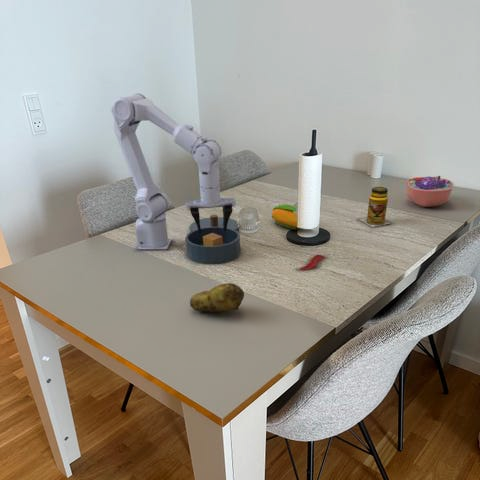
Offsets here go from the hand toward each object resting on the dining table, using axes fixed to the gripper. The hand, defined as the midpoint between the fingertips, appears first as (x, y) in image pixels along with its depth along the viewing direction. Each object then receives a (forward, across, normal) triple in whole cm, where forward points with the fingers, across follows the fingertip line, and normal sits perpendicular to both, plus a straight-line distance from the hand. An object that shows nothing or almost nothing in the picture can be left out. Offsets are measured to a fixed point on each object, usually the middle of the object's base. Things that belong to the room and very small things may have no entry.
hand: (212, 231), depth 141 cm
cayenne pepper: (+7, -28, +14) cm, 32 cm away
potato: (+7, +3, +36) cm, 37 cm away
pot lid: (+6, -3, -21) cm, 22 cm away
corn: (+7, -30, -15) cm, 34 cm away
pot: (+7, 0, 0) cm, 7 cm away
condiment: (+7, -59, -15) cm, 61 cm away
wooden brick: (+7, 0, 0) cm, 7 cm away
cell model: (+7, -85, -28) cm, 90 cm away
